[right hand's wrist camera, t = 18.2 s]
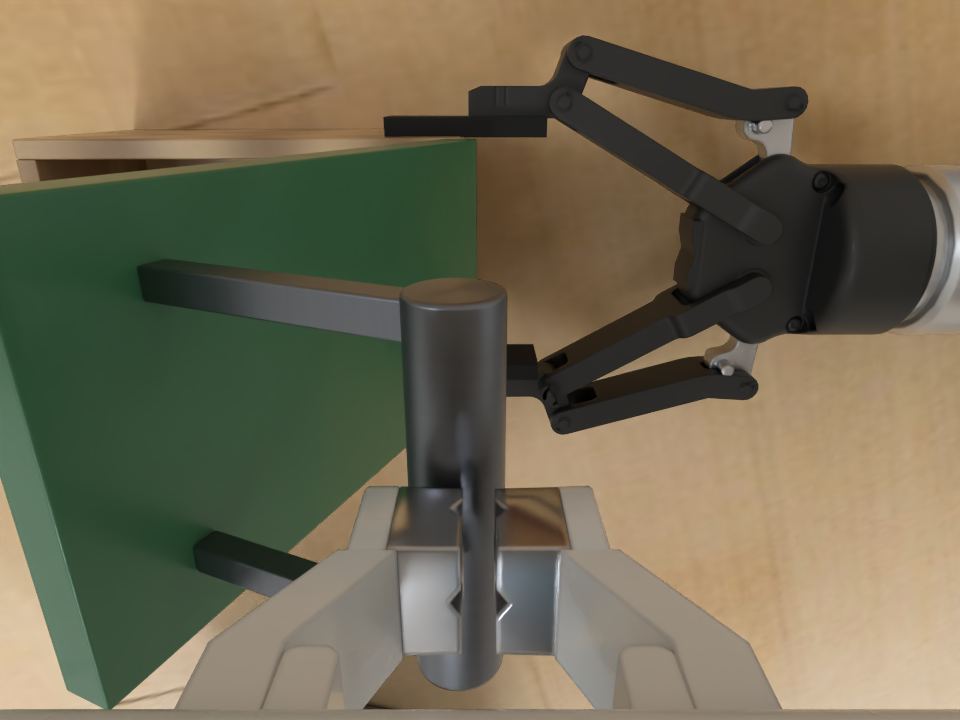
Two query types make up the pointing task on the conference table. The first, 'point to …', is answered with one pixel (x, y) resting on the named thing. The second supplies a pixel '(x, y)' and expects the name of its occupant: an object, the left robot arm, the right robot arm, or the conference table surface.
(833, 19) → the conference table surface
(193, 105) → the conference table surface
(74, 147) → the chest
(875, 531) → the conference table surface
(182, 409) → the lid
